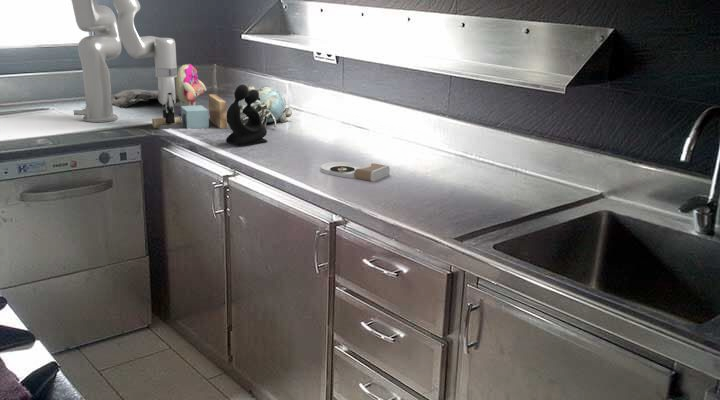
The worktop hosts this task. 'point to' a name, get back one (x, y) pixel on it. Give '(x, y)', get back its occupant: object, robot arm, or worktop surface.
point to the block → (195, 116)
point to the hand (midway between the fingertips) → (169, 121)
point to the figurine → (254, 126)
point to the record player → (356, 170)
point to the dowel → (164, 122)
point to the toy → (188, 85)
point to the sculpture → (269, 106)
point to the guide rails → (172, 126)
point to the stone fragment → (134, 97)
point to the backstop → (217, 111)
